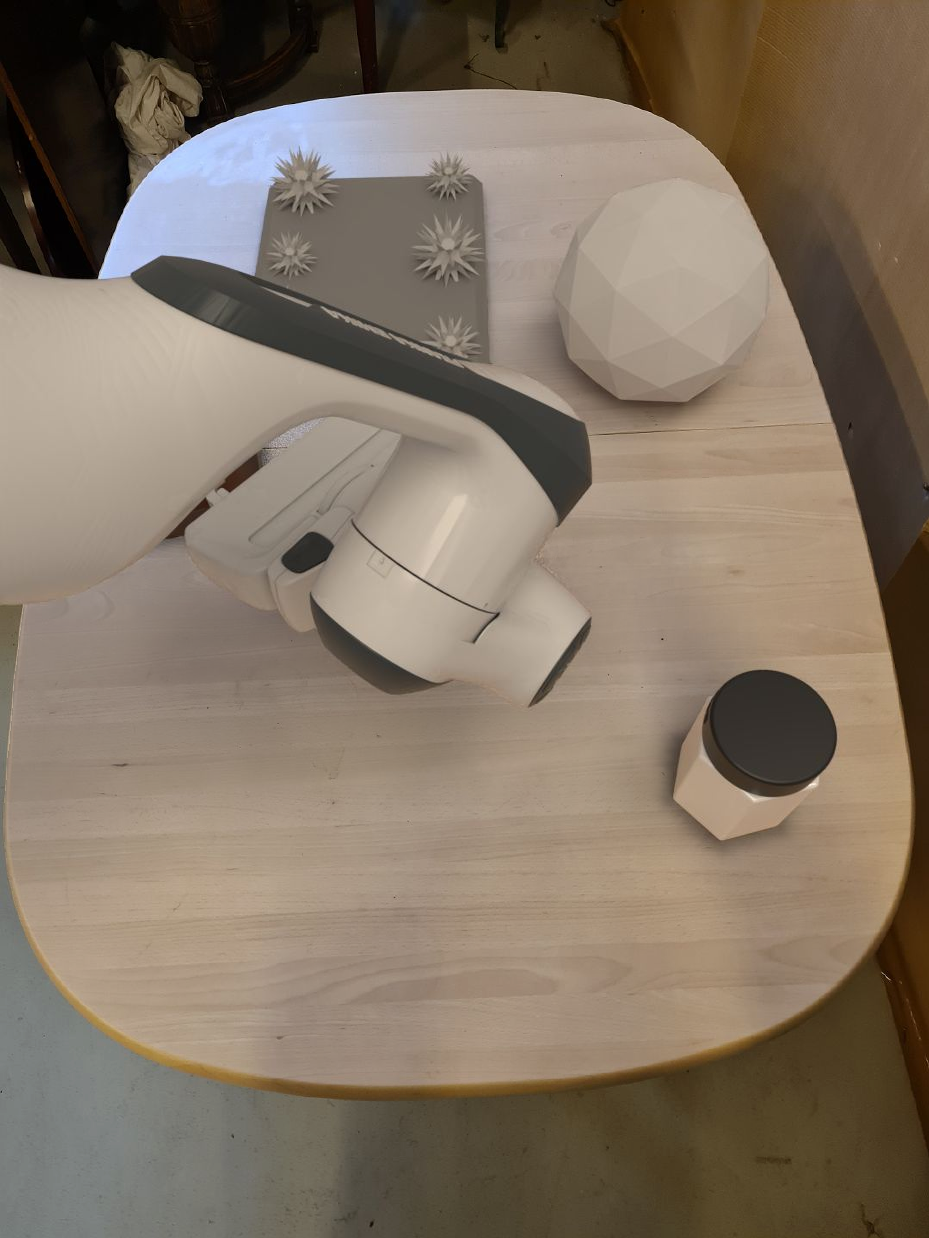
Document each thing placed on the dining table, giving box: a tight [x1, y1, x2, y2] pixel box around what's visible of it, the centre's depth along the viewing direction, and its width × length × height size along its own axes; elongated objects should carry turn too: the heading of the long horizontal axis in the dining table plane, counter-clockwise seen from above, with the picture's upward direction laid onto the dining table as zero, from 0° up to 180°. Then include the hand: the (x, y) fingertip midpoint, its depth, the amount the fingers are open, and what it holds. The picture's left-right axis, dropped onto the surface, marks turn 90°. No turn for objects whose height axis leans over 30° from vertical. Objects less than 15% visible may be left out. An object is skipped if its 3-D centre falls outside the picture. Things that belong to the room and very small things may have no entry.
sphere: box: [551, 176, 771, 403], centre depth 79 cm, size 19×20×20 cm
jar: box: [672, 669, 838, 842], centre depth 60 cm, size 9×8×12 cm
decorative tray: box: [254, 146, 491, 364], centre depth 90 cm, size 35×26×10 cm
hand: (248, 429), depth 63 cm, fingers open, 8 cm apart
